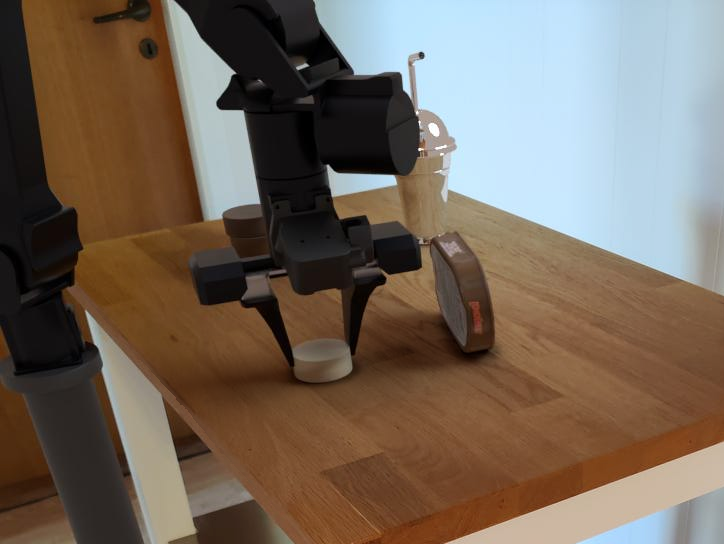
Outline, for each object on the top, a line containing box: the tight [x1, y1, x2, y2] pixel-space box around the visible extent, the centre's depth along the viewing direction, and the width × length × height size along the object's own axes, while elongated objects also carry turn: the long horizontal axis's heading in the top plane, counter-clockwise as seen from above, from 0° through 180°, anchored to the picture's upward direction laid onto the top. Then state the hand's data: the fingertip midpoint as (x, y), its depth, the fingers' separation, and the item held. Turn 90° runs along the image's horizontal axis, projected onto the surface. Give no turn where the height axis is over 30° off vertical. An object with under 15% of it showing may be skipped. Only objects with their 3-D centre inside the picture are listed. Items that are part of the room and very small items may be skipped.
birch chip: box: [292, 338, 353, 384], centre depth 88 cm, size 5×5×2 cm
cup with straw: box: [393, 51, 458, 245], centre depth 112 cm, size 8×9×20 cm
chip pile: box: [221, 203, 269, 259], centre depth 112 cm, size 6×6×6 cm
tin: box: [429, 230, 496, 354], centre depth 91 cm, size 15×3×8 cm, turn 14°
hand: (321, 360), depth 88 cm, fingers closed on birch chip, 5 cm apart
